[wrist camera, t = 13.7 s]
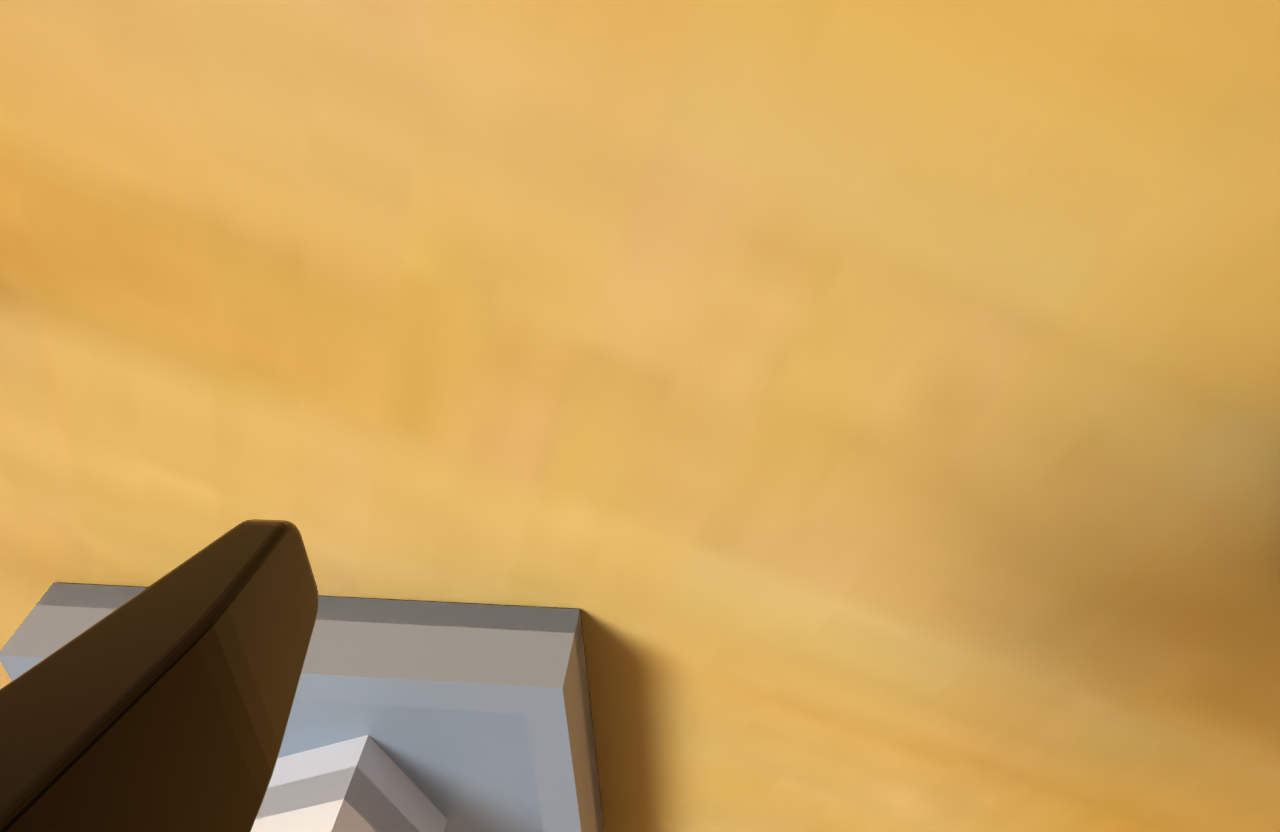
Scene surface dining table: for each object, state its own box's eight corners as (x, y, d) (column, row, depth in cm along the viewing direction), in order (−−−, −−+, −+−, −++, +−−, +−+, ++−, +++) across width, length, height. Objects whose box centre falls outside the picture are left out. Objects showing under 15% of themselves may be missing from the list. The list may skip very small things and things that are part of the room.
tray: (579, 609, 27) (562, 688, 25) (613, 916, 35) (602, 995, 33) (53, 582, 28) (-3, 655, 26) (203, 882, 36) (169, 955, 34)
